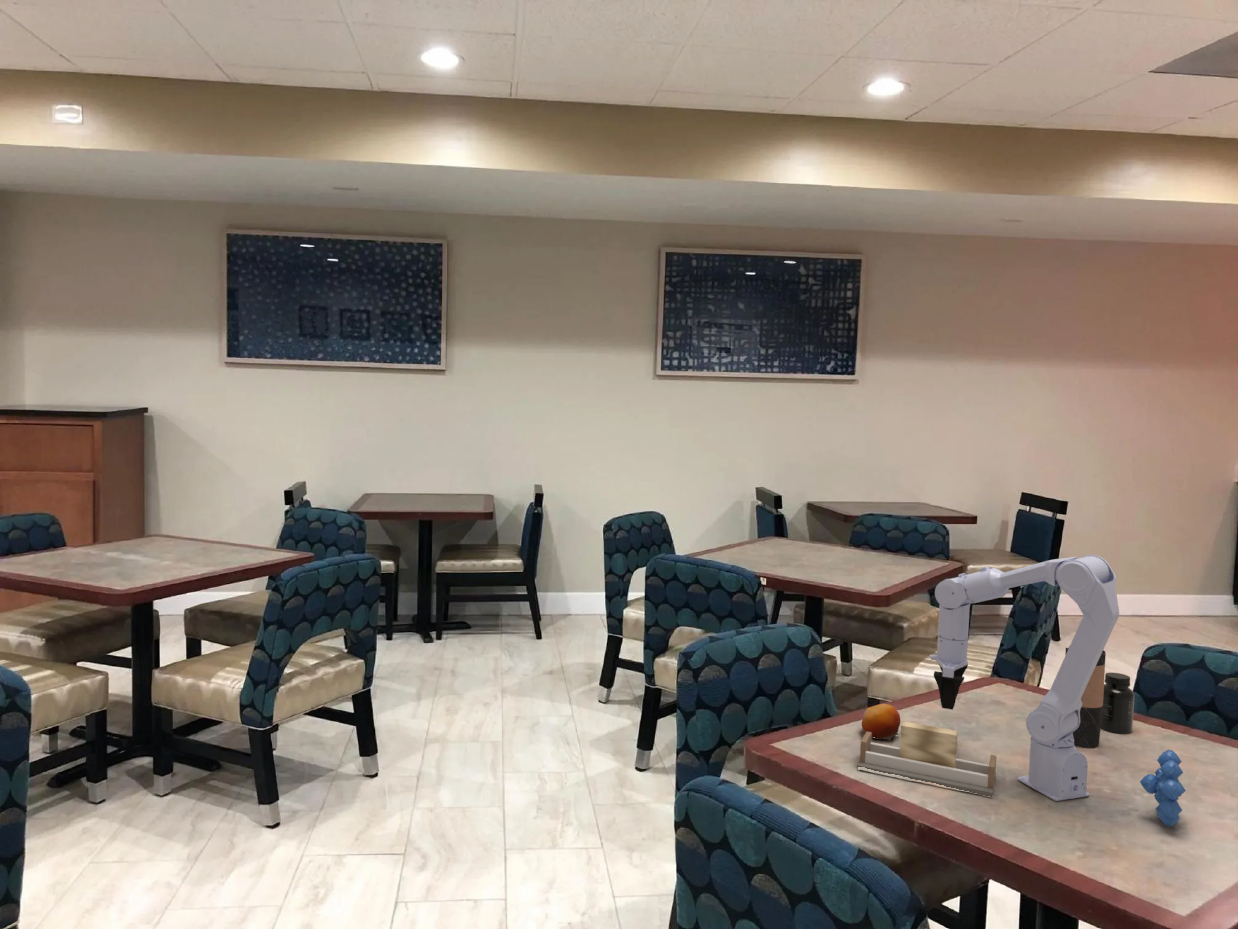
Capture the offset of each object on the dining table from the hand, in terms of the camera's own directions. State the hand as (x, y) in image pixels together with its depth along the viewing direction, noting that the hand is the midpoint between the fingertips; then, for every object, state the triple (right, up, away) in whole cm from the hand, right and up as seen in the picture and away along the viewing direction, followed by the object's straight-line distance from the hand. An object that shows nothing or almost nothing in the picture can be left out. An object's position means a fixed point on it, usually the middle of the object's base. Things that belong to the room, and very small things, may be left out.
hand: (949, 702), depth 177 cm
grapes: (+27, -13, -26) cm, 40 cm away
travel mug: (+31, -11, +8) cm, 34 cm away
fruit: (-11, -10, +9) cm, 17 cm away
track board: (-8, -11, -10) cm, 17 cm away
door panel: (-8, -10, -10) cm, 16 cm away
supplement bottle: (+43, -11, +17) cm, 47 cm away
